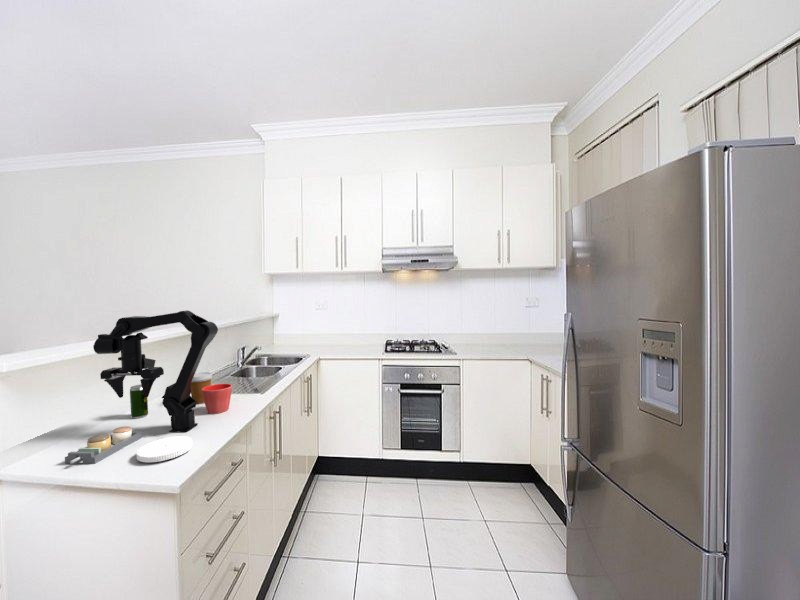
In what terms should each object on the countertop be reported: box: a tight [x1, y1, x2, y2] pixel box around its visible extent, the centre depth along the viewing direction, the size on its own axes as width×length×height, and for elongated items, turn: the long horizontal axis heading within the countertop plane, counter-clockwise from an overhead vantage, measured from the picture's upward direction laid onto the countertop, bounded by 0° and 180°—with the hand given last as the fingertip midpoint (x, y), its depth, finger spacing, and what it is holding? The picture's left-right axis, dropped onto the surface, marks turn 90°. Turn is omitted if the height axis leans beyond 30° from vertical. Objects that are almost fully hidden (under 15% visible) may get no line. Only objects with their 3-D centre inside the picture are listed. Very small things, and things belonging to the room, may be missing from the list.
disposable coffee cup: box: [190, 371, 213, 405], centre depth 154 cm, size 10×10×12 cm
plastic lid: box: [136, 435, 194, 463], centre depth 106 cm, size 14×14×2 cm
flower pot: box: [202, 383, 233, 415], centre depth 143 cm, size 11×11×10 cm
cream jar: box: [111, 425, 133, 445], centre depth 115 cm, size 5×5×4 cm
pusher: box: [70, 447, 101, 465], centre depth 102 cm, size 6×6×3 cm
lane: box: [64, 430, 145, 465], centre depth 110 cm, size 9×18×3 cm, turn 177°
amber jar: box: [86, 433, 112, 452], centre depth 107 cm, size 6×6×5 cm
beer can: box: [129, 384, 149, 420], centre depth 138 cm, size 5×5×12 cm
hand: (133, 397), depth 123 cm, fingers open, 9 cm apart
